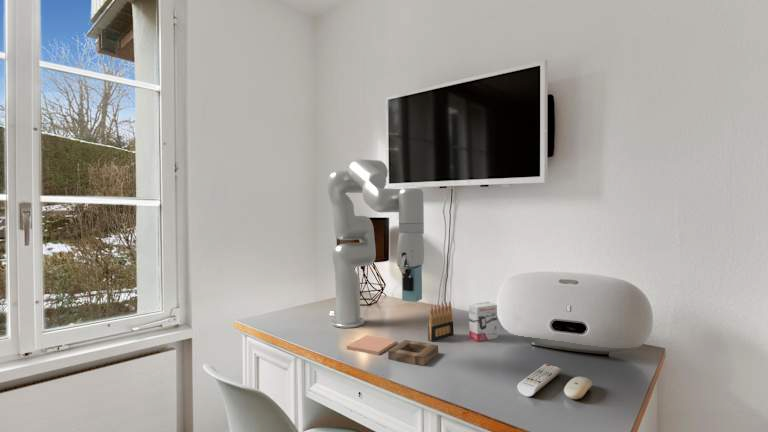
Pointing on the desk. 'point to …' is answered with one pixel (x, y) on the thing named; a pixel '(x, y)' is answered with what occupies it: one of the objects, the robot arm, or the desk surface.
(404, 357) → the holder
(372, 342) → the tile
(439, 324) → the ammunition clip
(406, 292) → the teal block
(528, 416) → the desk surface
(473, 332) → the ink box
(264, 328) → the desk surface
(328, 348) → the desk surface
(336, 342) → the desk surface
